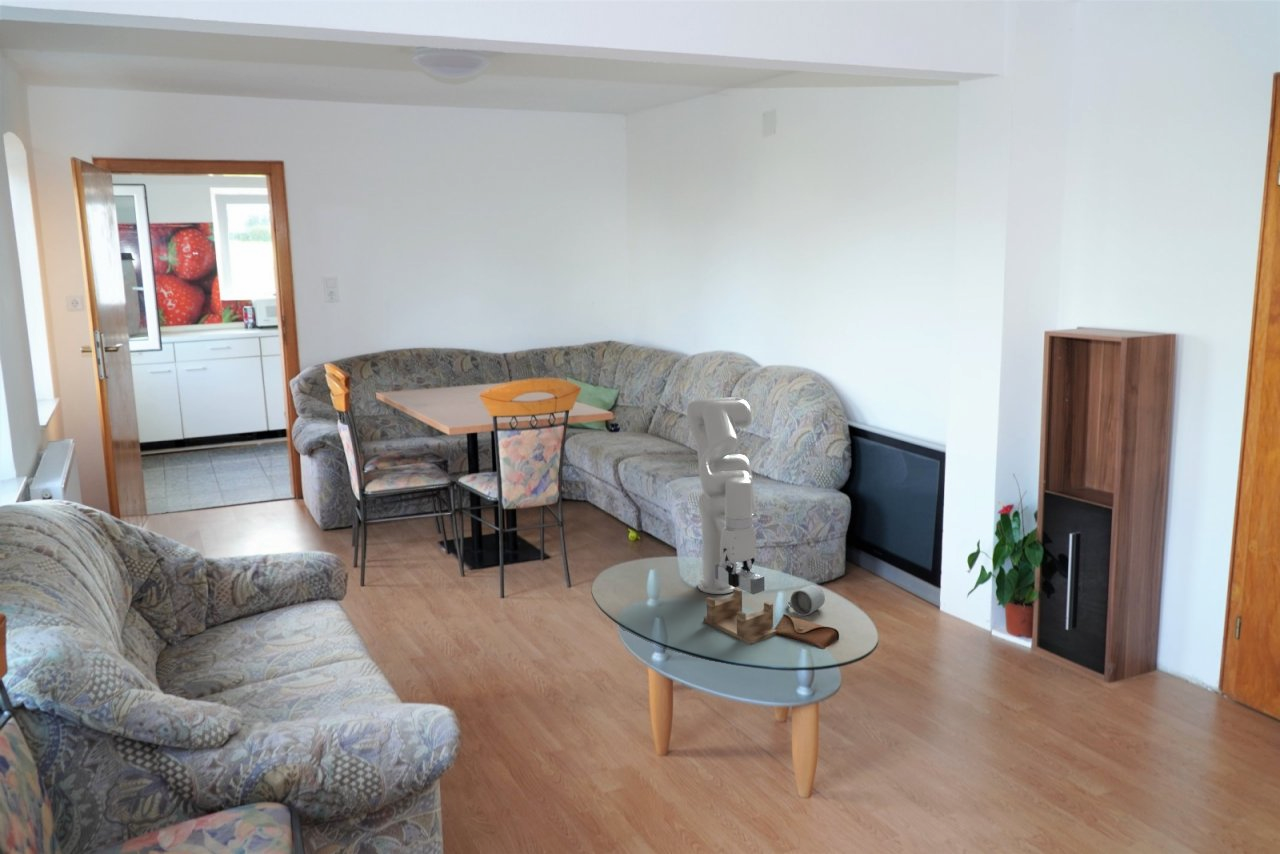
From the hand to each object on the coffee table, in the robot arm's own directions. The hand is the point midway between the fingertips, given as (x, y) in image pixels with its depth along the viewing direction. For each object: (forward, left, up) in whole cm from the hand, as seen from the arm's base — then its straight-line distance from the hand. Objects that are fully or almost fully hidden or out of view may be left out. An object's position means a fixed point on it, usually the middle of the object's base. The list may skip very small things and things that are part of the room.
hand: (739, 583), depth 288 cm
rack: (0, 0, -14) cm, 14 cm away
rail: (0, 0, 0) cm, 0 cm away
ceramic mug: (-23, +3, -14) cm, 27 cm away
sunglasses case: (-10, +15, -14) cm, 23 cm away
